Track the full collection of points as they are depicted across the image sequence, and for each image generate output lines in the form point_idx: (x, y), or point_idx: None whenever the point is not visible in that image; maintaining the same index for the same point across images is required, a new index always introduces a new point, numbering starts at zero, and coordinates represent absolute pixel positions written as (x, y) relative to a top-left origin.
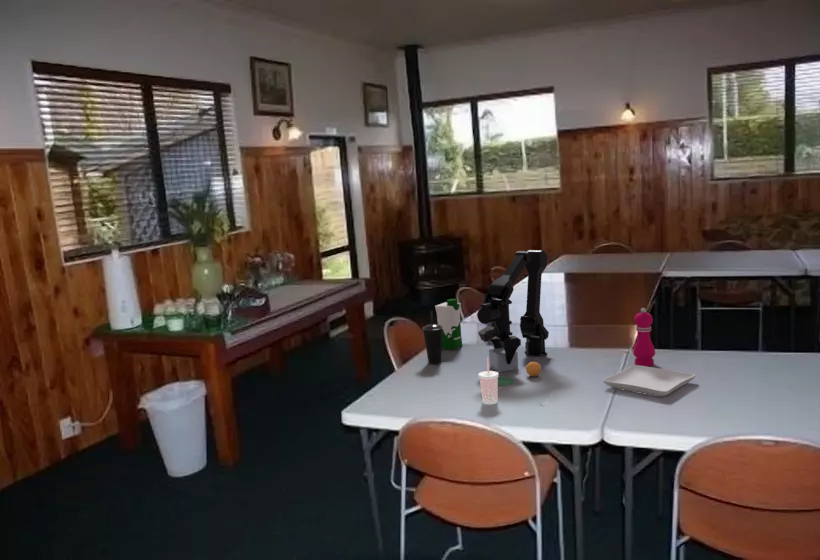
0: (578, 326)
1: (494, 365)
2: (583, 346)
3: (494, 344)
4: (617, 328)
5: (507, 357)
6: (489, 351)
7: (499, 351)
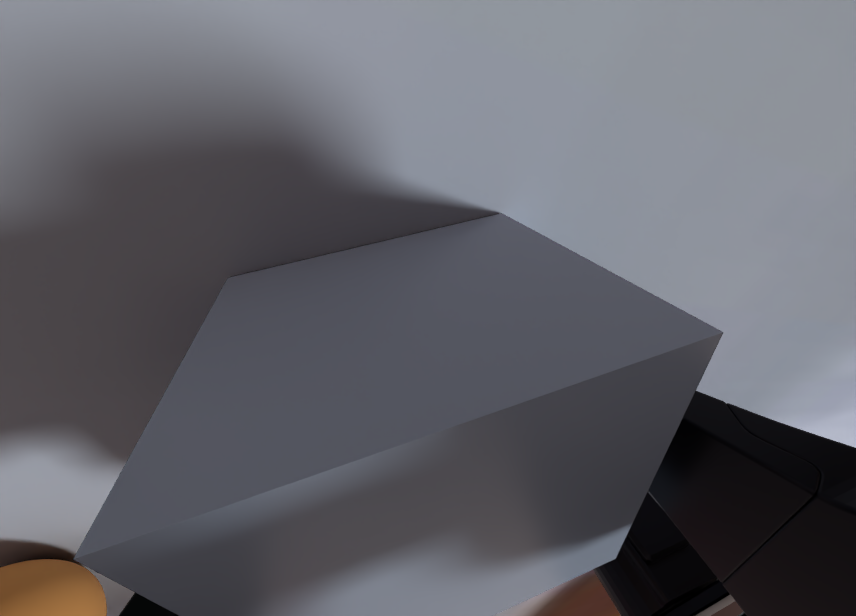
0: None
1: (353, 273)
2: (568, 591)
3: (808, 502)
4: None
5: (138, 604)
6: (660, 321)
7: (461, 525)
